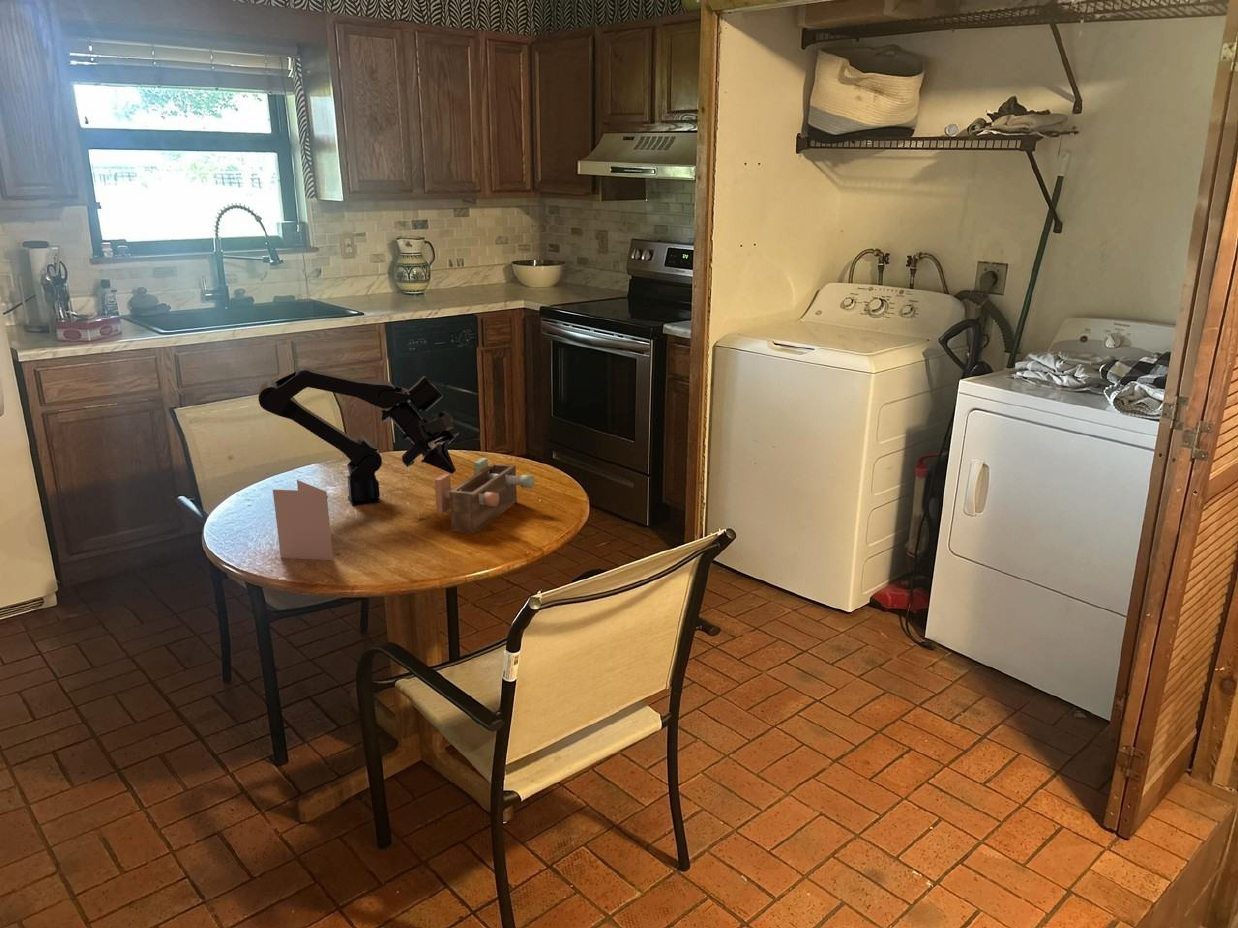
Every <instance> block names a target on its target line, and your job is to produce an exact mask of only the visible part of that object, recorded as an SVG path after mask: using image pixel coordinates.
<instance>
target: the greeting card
mask: <svg viewBox="0 0 1238 928" xmlns="http://www.w3.org/2000/svg"><path fill="white" fill-rule="evenodd" d="M296 487H297V489H294V490H292V489H272V497H273V503H274V512H275V513H274V514H275V521H276V530H277V537H278V546H279V554H280V555H279V556H280V558H282V559H297V558H299V559H303V560H317V561H319V560H320V561H334V555H333V554H334V553H333V543H332V535H331V534H332V533H331V532H332V531H331V525H330V524H331V523H330V515H329V513H330V512H329V505H328V503H329V502H328V495H327V493H328V492H327V491H326V490H323V489H320V488H318V487H317V486H316V487H315V486H313V485H311V484H308V483H306V482H304V481H301V480H299V479H296ZM299 559H298V560H299Z"/></svg>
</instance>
